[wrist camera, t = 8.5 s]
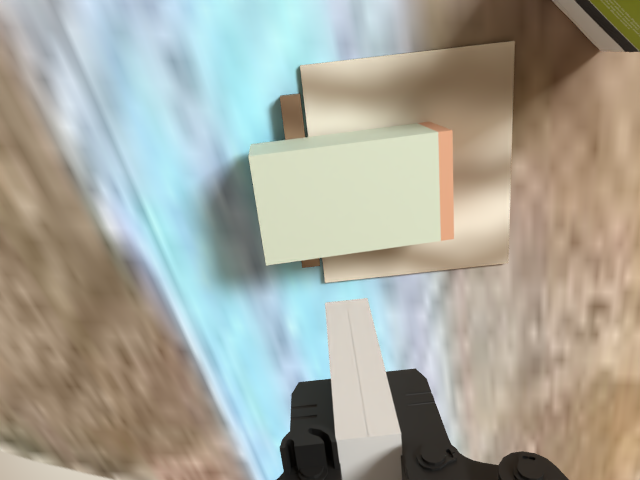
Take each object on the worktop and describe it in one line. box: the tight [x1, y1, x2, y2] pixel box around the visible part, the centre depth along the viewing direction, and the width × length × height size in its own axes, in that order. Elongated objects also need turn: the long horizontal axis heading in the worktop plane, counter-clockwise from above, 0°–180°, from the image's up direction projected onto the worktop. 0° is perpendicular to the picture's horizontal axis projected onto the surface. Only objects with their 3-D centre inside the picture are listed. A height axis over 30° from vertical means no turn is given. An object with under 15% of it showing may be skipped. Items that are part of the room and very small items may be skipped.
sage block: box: [248, 122, 454, 266], centre depth 37 cm, size 8×5×14 cm
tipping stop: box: [280, 41, 515, 283], centre depth 40 cm, size 18×18×1 cm
